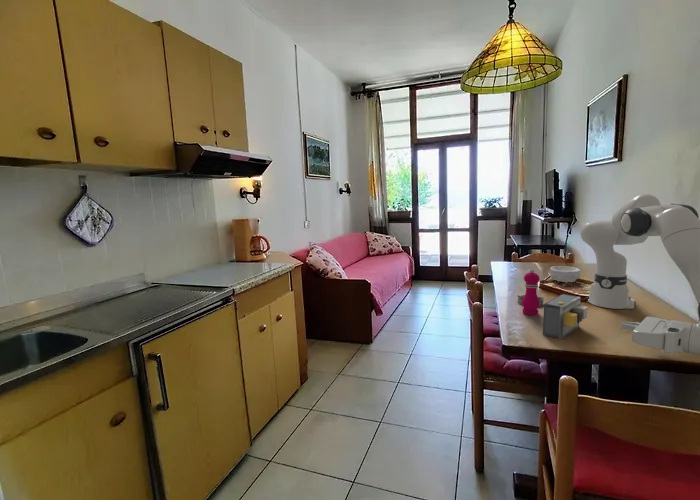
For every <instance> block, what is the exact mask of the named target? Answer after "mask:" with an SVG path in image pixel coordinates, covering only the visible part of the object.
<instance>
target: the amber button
mask: <svg viewBox="0 0 700 500" xmlns="http://www.w3.org/2000/svg"><path fill="white" fill-rule="evenodd" d="M564 325H566V326H571V327H574V326H575V325H577V314H575V313H570V312H566V313H565V314H564Z"/></svg>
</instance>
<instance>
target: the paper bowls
mask: <svg viewBox="0 0 700 500" xmlns="http://www.w3.org/2000/svg"><path fill="white" fill-rule="evenodd" d="M549 276H550V277H551V278H552V279H553V280H557V281H562V282H574V283H575V282H576V281H577V280H579V279H580V277H581V269H580V268H577V267H574V266H564V265H557V266H551V267H550V268H549Z"/></svg>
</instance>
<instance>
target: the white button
mask: <svg viewBox="0 0 700 500" xmlns="http://www.w3.org/2000/svg"><path fill="white" fill-rule="evenodd" d="M588 308H589V307H588V306H584V305H580V306H579V305H577V306H576V307H575V309H578V310H583V314H582V320H585V319H586V318H588Z"/></svg>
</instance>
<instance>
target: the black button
mask: <svg viewBox="0 0 700 500" xmlns="http://www.w3.org/2000/svg"><path fill="white" fill-rule="evenodd" d="M570 313H575V314H577V323H579V324H580V323H581V322H582V321H583V319H582V314H583V310H578V309H573V308H572V309H571V310H570Z"/></svg>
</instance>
